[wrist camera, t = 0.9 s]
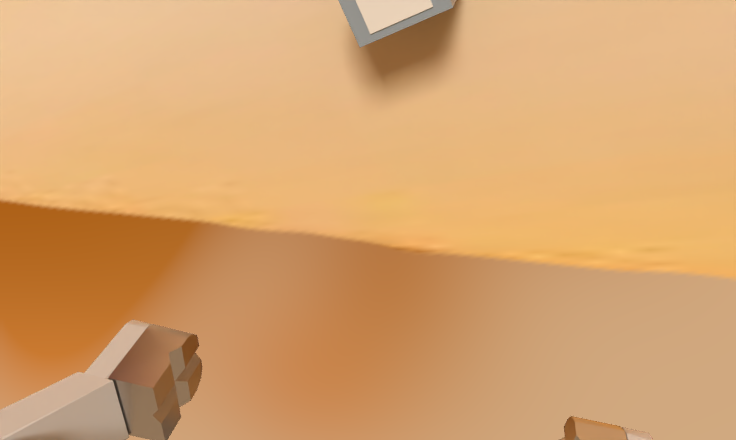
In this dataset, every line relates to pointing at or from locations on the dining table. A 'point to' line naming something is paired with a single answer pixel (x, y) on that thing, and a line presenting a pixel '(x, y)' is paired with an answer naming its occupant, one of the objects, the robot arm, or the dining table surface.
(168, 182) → the dining table surface
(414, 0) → the block
